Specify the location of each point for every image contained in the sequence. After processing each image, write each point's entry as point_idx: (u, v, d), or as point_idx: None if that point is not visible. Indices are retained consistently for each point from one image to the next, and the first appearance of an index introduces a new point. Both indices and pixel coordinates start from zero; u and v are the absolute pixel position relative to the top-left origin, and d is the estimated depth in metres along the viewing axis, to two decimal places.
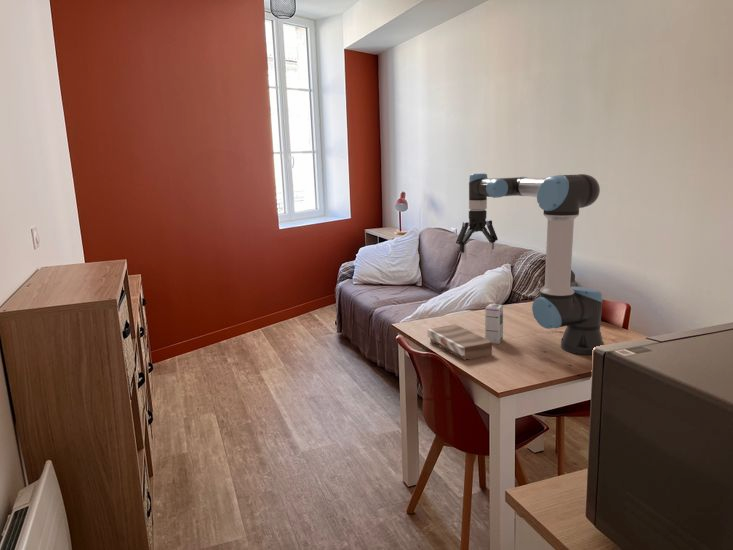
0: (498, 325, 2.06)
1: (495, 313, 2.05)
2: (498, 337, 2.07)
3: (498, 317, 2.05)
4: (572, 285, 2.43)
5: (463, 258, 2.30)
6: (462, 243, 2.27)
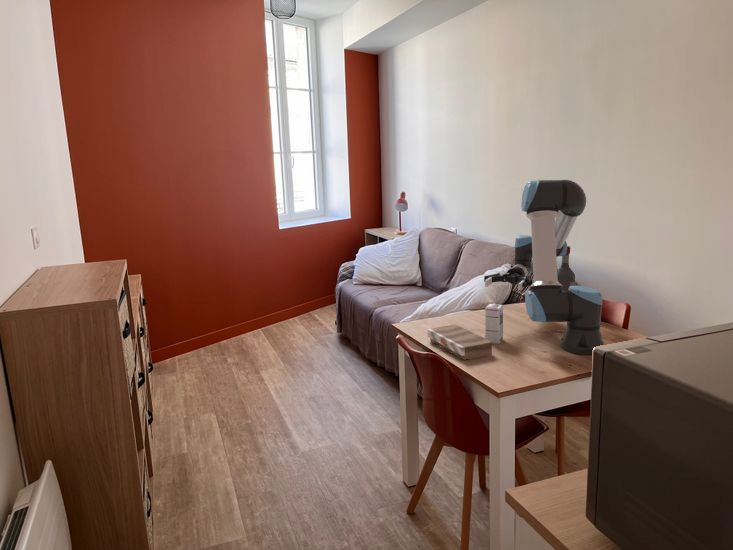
0: (498, 325, 2.06)
1: (495, 313, 2.05)
2: (498, 337, 2.07)
3: (498, 317, 2.05)
4: (572, 285, 2.43)
5: None
6: (488, 277, 2.25)
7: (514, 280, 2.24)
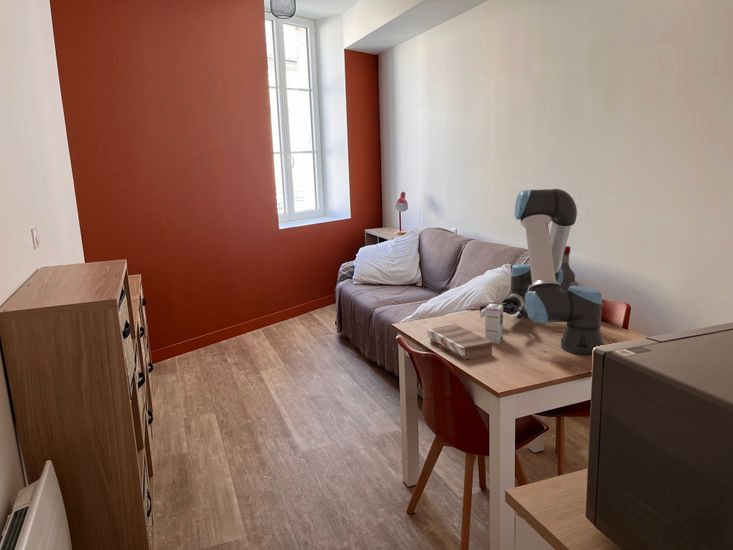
0: (498, 325, 2.06)
1: (495, 313, 2.05)
2: (498, 337, 2.07)
3: (498, 317, 2.05)
4: (572, 285, 2.43)
5: None
6: None
7: (510, 311, 2.23)
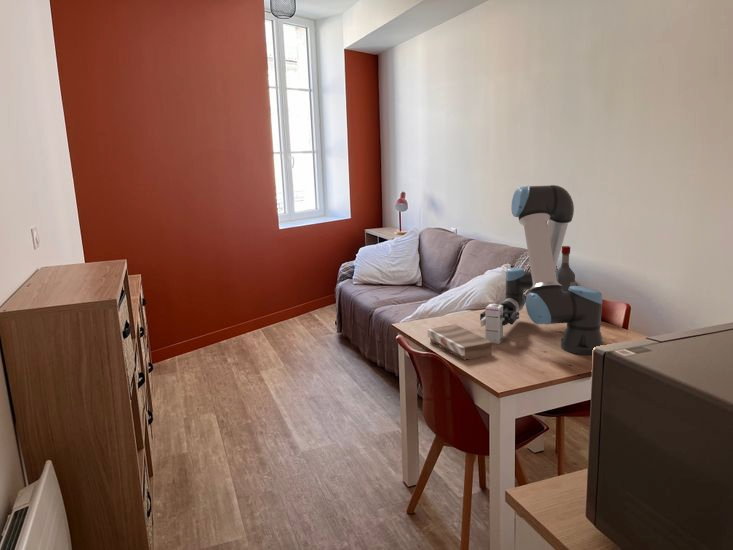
0: None
1: (495, 313, 2.05)
2: (498, 337, 2.07)
3: (498, 317, 2.05)
4: (572, 285, 2.43)
5: None
6: (484, 315, 2.13)
7: (504, 316, 2.16)
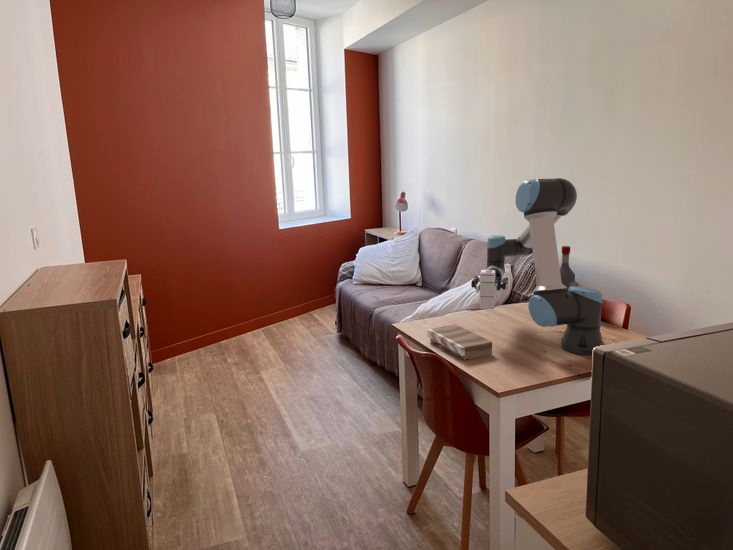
0: (493, 290, 2.04)
1: (490, 278, 2.03)
2: (493, 302, 2.05)
3: (493, 282, 2.03)
4: (572, 285, 2.43)
5: (476, 288, 2.04)
6: (475, 282, 2.10)
7: None
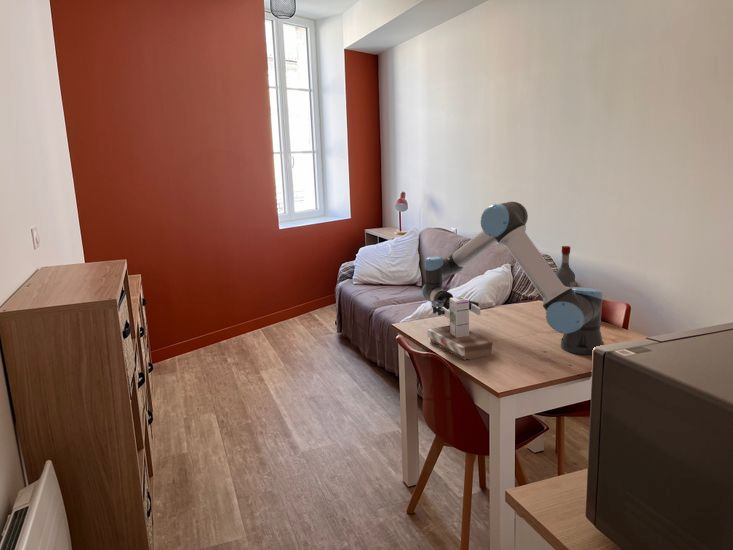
0: (468, 317, 2.00)
1: (465, 305, 1.98)
2: (468, 329, 2.01)
3: (468, 309, 1.99)
4: (572, 285, 2.43)
5: (447, 313, 1.97)
6: None
7: None
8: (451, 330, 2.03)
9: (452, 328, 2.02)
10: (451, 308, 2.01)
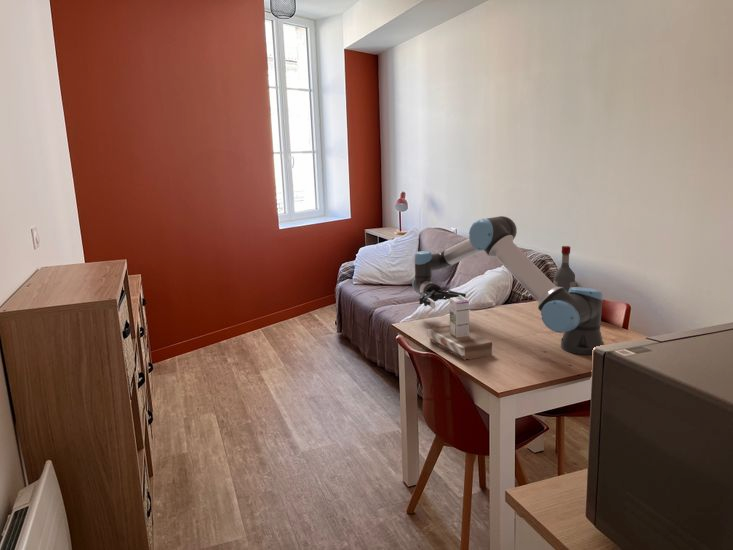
0: (468, 317, 2.00)
1: (465, 305, 1.98)
2: (468, 329, 2.01)
3: (468, 309, 1.99)
4: (572, 285, 2.43)
5: (432, 304, 2.09)
6: (424, 298, 2.15)
7: (442, 297, 2.22)
8: (451, 330, 2.03)
9: (452, 328, 2.02)
10: (451, 308, 2.01)
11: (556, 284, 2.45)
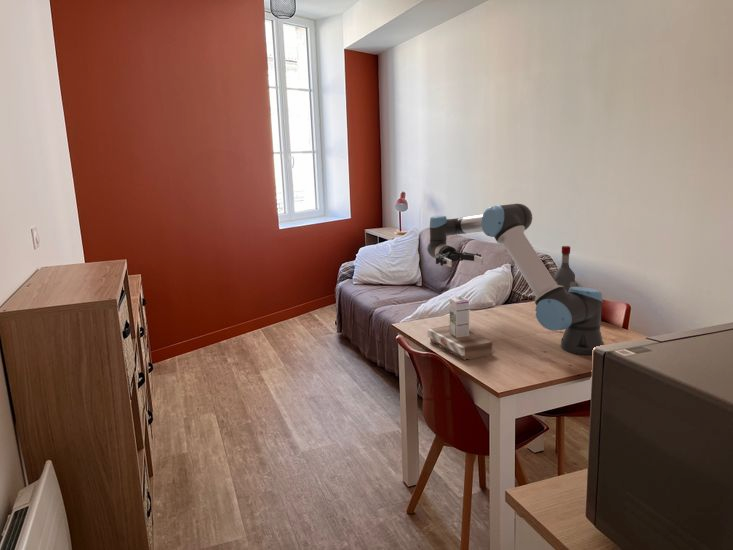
0: (468, 317, 2.00)
1: (465, 305, 1.98)
2: (468, 329, 2.01)
3: (468, 309, 1.99)
4: (572, 285, 2.43)
5: (449, 262, 2.13)
6: (440, 258, 2.19)
7: (458, 258, 2.26)
8: (451, 330, 2.03)
9: (452, 328, 2.02)
10: (451, 308, 2.01)
11: None
